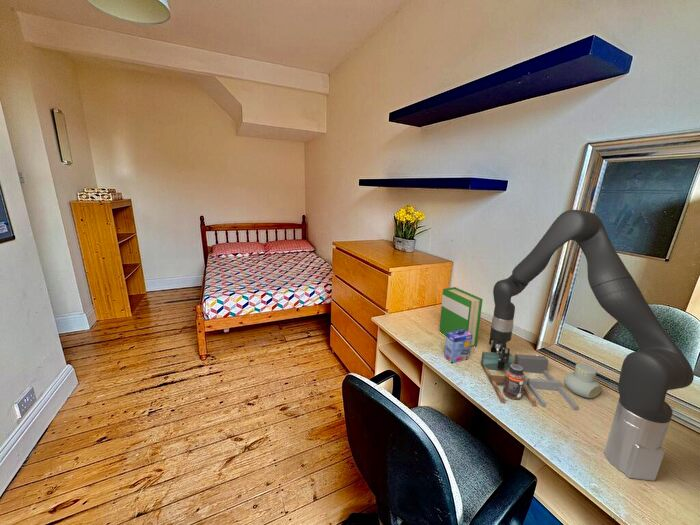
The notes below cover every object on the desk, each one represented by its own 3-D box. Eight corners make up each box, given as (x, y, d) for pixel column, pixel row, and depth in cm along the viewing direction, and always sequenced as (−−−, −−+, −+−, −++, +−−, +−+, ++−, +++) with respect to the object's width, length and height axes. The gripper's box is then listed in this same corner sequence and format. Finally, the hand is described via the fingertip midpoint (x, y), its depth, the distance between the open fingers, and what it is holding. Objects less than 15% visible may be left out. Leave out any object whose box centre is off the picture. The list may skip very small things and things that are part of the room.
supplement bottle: (524, 401, 98) (529, 373, 95) (505, 399, 99) (510, 371, 96) (518, 390, 103) (522, 363, 101) (500, 387, 105) (504, 361, 102)
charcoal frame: (577, 409, 94) (580, 394, 93) (541, 406, 95) (544, 391, 94) (541, 368, 116) (543, 355, 115) (513, 366, 118) (515, 353, 116)
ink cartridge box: (451, 364, 119) (455, 333, 116) (443, 357, 124) (446, 327, 121) (470, 359, 122) (473, 329, 119) (461, 352, 127) (464, 323, 124)
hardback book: (476, 346, 133) (482, 299, 127) (464, 349, 130) (469, 301, 124) (450, 330, 148) (454, 287, 143) (439, 332, 146) (443, 288, 140)
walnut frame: (535, 405, 96) (538, 390, 94) (501, 402, 97) (503, 387, 96) (507, 365, 118) (509, 353, 116) (480, 363, 119) (482, 351, 118)
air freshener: (577, 381, 108) (583, 358, 106) (602, 395, 101) (609, 371, 99) (558, 388, 105) (563, 364, 102) (583, 403, 97) (589, 378, 95)
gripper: (519, 336, 105) (513, 374, 109) (504, 319, 118) (499, 353, 123) (498, 335, 106) (493, 372, 110) (486, 318, 119) (481, 352, 123)
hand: (496, 362), depth 116 cm, fingers open, 8 cm apart
